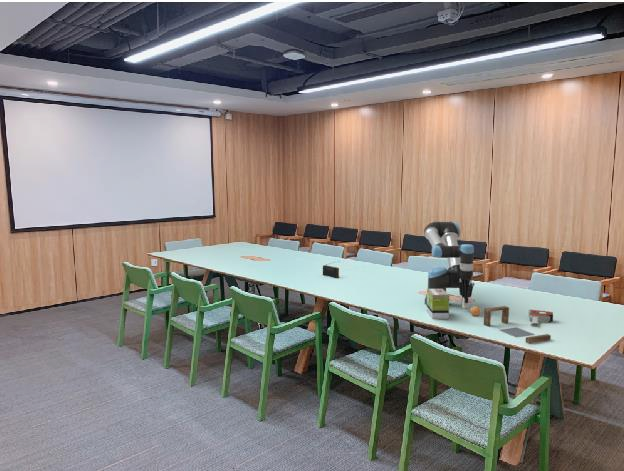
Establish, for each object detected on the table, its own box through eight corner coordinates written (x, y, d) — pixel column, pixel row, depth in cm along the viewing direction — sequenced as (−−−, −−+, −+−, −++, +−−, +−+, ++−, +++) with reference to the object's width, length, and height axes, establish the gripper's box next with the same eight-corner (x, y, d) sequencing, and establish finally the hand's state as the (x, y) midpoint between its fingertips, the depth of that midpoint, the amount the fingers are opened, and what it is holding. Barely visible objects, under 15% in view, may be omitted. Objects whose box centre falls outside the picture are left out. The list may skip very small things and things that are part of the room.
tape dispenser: (533, 331, 242) (563, 325, 247) (533, 321, 242) (564, 316, 246) (511, 319, 259) (540, 315, 264) (511, 311, 258) (540, 306, 263)
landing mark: (499, 330, 238) (499, 329, 238) (516, 327, 242) (516, 327, 242) (516, 337, 227) (516, 337, 227) (534, 334, 231) (534, 334, 231)
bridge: (483, 324, 248) (484, 308, 246) (504, 321, 252) (505, 305, 251) (487, 326, 245) (488, 309, 244) (508, 323, 250) (509, 307, 248)
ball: (468, 314, 266) (468, 305, 265) (475, 313, 268) (476, 304, 267) (474, 317, 261) (474, 308, 260) (482, 316, 263) (482, 307, 262)
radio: (322, 275, 380) (322, 258, 378) (324, 275, 382) (324, 257, 380) (338, 278, 366) (338, 260, 364) (340, 278, 368) (340, 260, 366)
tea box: (425, 311, 273) (426, 288, 271) (442, 311, 272) (443, 288, 270) (431, 319, 258) (432, 294, 256) (449, 319, 257) (450, 294, 256)
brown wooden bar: (525, 342, 220) (525, 337, 220) (547, 338, 225) (547, 334, 224) (528, 343, 218) (528, 338, 218) (550, 340, 223) (550, 335, 223)
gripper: (454, 268, 275) (453, 305, 278) (468, 272, 263) (466, 311, 266) (464, 267, 278) (463, 304, 280) (478, 271, 265) (477, 309, 268)
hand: (464, 307), depth 273 cm, fingers closed
